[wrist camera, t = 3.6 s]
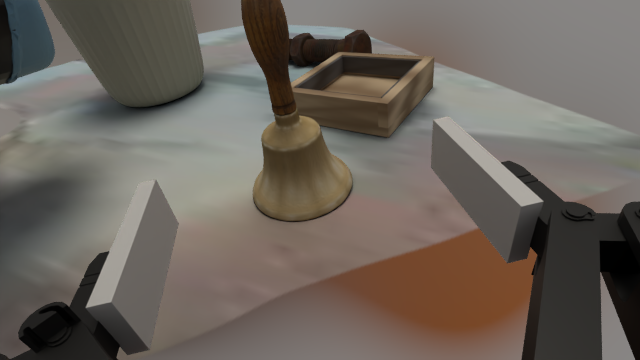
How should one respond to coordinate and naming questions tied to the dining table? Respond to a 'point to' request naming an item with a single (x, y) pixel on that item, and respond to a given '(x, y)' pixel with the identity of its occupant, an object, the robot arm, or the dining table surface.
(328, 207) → the hand bell
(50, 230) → the dining table surface
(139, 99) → the canister
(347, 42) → the bolt
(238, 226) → the dining table surface
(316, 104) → the square tray
